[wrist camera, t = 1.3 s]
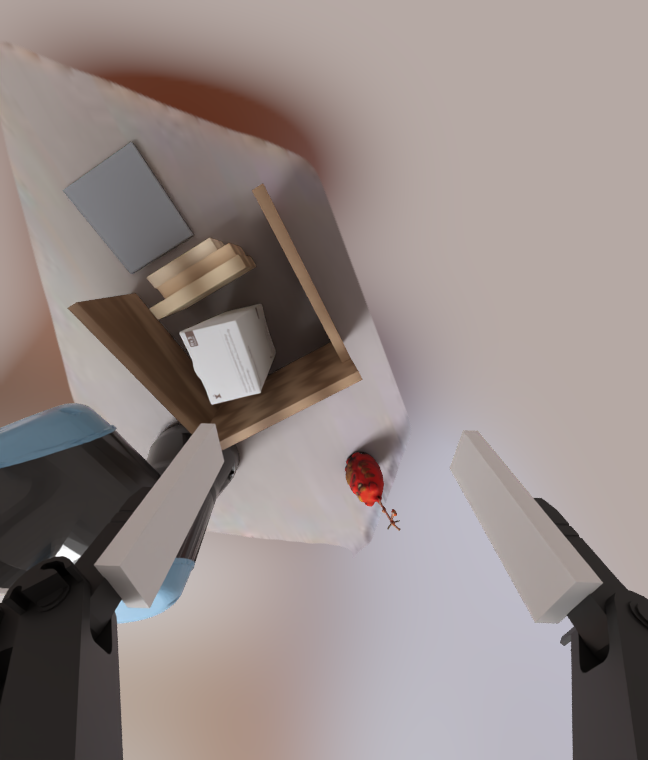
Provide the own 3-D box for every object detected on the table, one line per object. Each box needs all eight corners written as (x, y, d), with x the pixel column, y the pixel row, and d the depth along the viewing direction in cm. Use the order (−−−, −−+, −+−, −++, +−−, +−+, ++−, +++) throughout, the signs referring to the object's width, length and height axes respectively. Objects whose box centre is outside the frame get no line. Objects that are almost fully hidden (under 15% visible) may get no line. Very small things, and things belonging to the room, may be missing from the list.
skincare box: (276, 352, 39) (266, 396, 26) (240, 361, 39) (211, 409, 26) (260, 299, 36) (238, 319, 22) (220, 309, 36) (174, 333, 22)
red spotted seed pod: (345, 449, 49) (363, 518, 36) (378, 448, 50) (409, 515, 36) (342, 477, 52) (358, 550, 39) (374, 475, 53) (401, 546, 40)
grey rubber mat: (132, 273, 33) (130, 273, 32) (66, 191, 29) (62, 190, 28) (193, 234, 32) (192, 234, 31) (133, 143, 28) (131, 141, 27)
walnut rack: (222, 407, 42) (190, 466, 30) (128, 297, 34) (28, 315, 21) (341, 344, 40) (362, 379, 27) (272, 207, 31) (256, 166, 19)
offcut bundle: (186, 308, 35) (158, 319, 28) (163, 278, 33) (126, 281, 26) (256, 266, 34) (246, 267, 27) (236, 232, 32) (219, 223, 25)
